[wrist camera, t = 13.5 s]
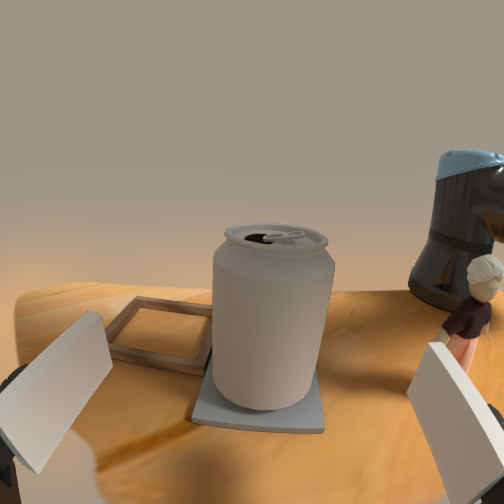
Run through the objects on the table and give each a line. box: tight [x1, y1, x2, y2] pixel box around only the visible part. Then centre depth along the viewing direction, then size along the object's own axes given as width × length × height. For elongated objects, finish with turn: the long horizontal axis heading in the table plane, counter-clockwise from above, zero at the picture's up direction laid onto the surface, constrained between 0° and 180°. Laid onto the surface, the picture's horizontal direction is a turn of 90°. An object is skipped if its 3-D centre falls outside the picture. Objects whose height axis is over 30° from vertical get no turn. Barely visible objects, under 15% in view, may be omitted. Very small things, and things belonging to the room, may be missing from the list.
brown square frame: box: [105, 296, 212, 376], centre depth 27 cm, size 11×11×1 cm
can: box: [212, 222, 335, 410], centre depth 19 cm, size 8×8×12 cm
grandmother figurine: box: [430, 254, 504, 375], centre depth 18 cm, size 8×4×13 cm, turn 110°
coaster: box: [191, 353, 325, 433], centre depth 21 cm, size 9×9×1 cm
